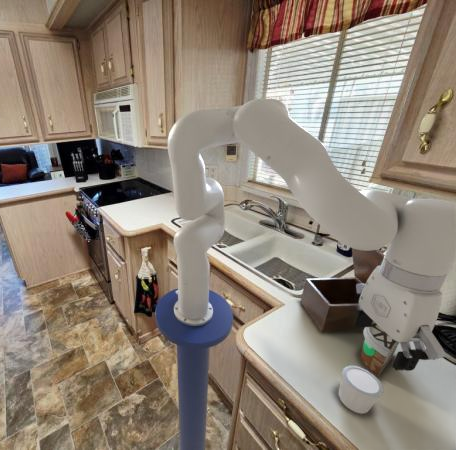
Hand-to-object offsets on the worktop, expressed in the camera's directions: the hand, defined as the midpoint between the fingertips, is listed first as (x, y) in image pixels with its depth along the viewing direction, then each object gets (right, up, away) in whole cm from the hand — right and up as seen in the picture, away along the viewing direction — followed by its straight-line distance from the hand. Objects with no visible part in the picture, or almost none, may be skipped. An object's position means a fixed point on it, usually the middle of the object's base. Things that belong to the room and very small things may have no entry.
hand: (380, 345), depth 48 cm
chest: (+13, -5, +30) cm, 33 cm away
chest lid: (+17, +11, +22) cm, 30 cm away
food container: (+12, -11, +17) cm, 24 cm away
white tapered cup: (+1, -16, +8) cm, 18 cm away
